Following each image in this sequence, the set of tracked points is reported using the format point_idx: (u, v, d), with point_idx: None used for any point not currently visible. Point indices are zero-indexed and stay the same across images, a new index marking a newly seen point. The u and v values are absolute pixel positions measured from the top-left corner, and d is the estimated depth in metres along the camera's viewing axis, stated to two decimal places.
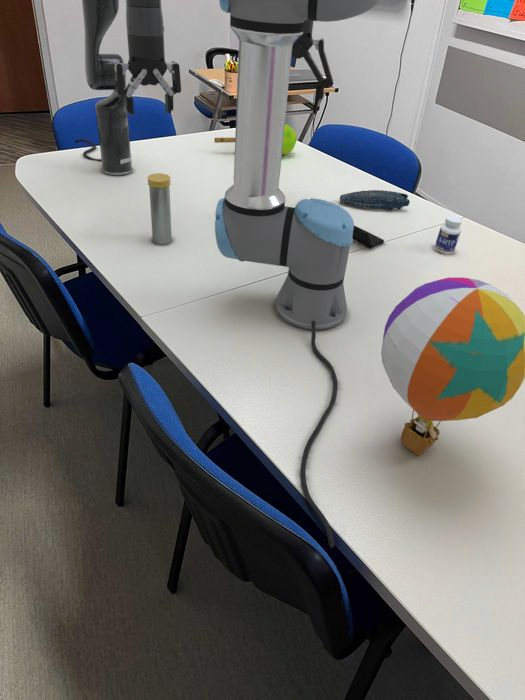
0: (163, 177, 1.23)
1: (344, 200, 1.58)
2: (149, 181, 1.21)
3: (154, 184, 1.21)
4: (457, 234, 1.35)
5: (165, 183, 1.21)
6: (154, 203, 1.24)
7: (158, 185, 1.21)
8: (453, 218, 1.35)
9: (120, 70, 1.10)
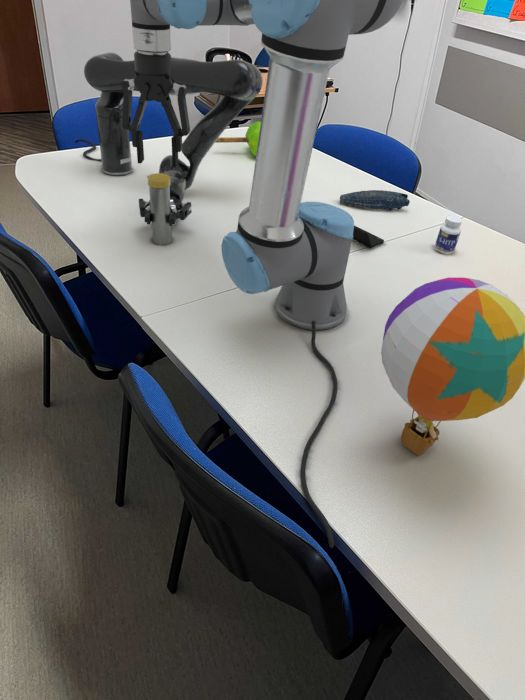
0: (163, 177, 1.23)
1: (344, 200, 1.58)
2: (149, 181, 1.21)
3: (154, 184, 1.21)
4: (457, 234, 1.35)
5: (165, 183, 1.21)
6: (154, 203, 1.24)
7: (158, 185, 1.21)
8: (453, 218, 1.35)
9: None
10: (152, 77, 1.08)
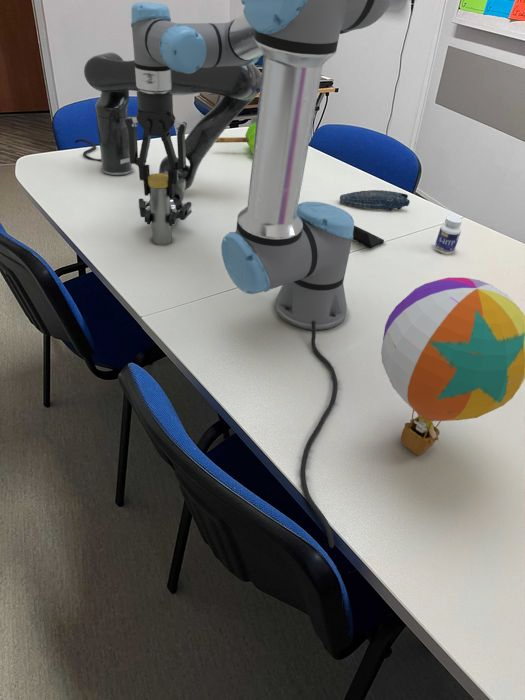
0: (163, 177, 1.23)
1: (344, 200, 1.58)
2: (149, 181, 1.21)
3: (154, 184, 1.21)
4: (457, 234, 1.35)
5: (165, 183, 1.21)
6: (154, 203, 1.24)
7: (158, 185, 1.21)
8: (453, 218, 1.35)
9: None
10: (154, 114, 1.13)
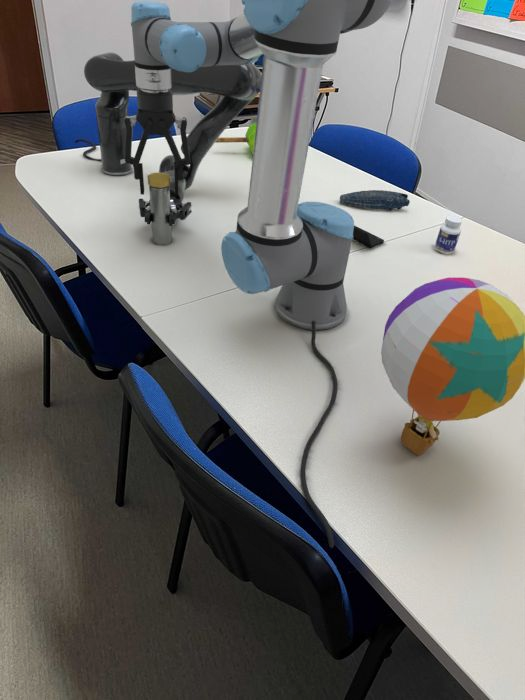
0: (159, 174, 1.23)
1: (344, 200, 1.58)
2: (164, 182, 1.21)
3: (169, 182, 1.22)
4: (457, 234, 1.35)
5: None
6: (154, 203, 1.24)
7: None
8: (453, 218, 1.35)
9: None
10: (155, 113, 1.13)
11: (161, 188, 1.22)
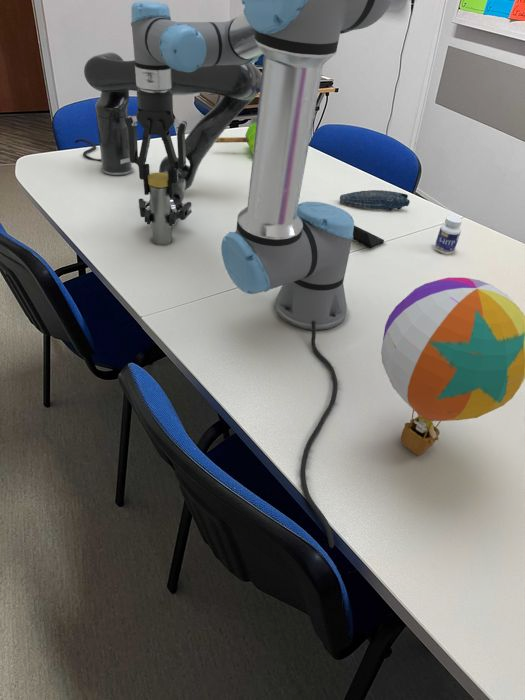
0: (159, 174, 1.23)
1: (344, 200, 1.58)
2: (164, 182, 1.21)
3: None
4: (457, 234, 1.35)
5: None
6: (154, 203, 1.24)
7: None
8: (453, 218, 1.35)
9: None
10: (154, 113, 1.13)
11: (161, 188, 1.22)
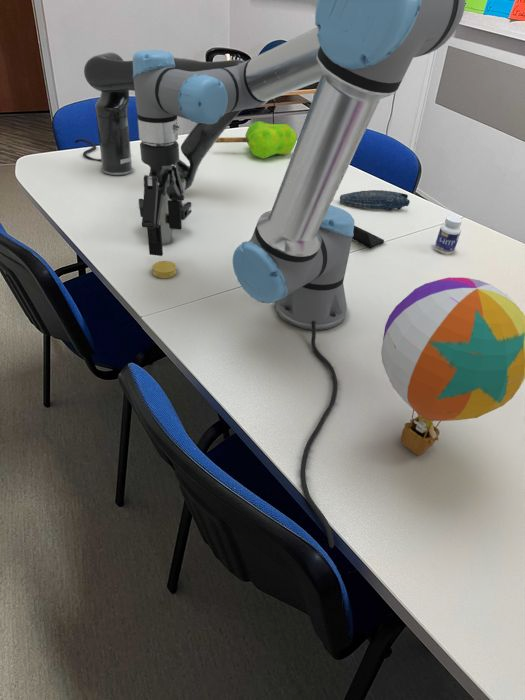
0: (159, 266, 1.20)
1: (344, 200, 1.58)
2: None
3: None
4: (457, 234, 1.35)
5: None
6: None
7: None
8: (453, 218, 1.35)
9: None
10: None
11: None
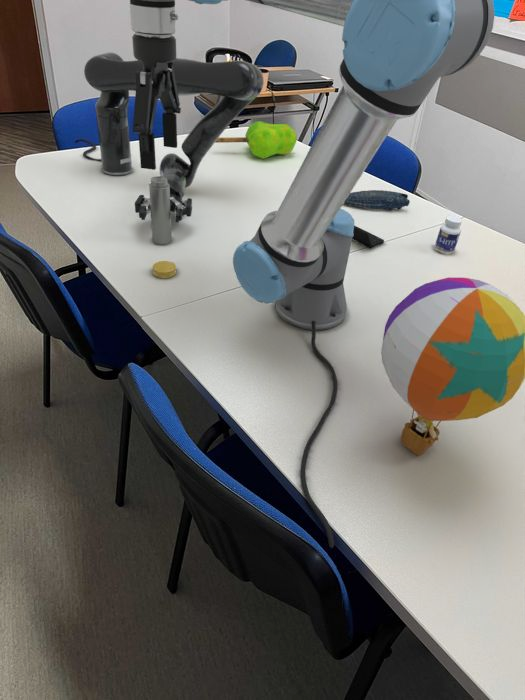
0: (159, 266, 1.20)
1: None
2: None
3: None
4: (457, 234, 1.35)
5: None
6: (154, 203, 1.24)
7: None
8: (453, 218, 1.35)
9: None
10: (161, 64, 0.93)
11: (161, 188, 1.22)
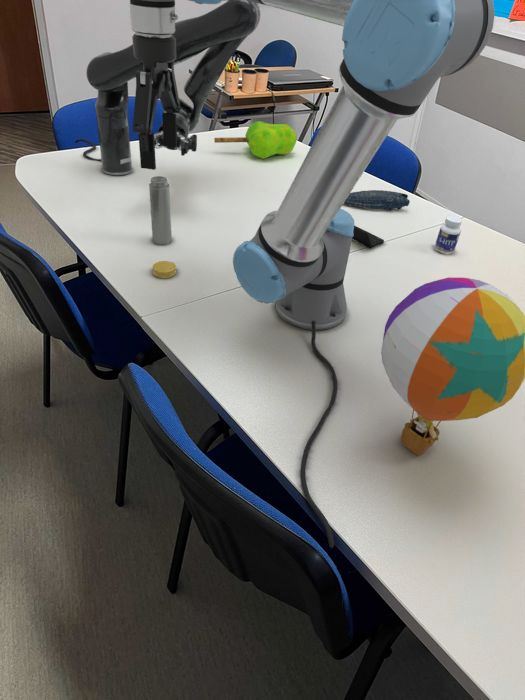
0: (159, 266, 1.20)
1: None
2: None
3: None
4: (457, 234, 1.35)
5: None
6: (154, 203, 1.24)
7: None
8: (453, 218, 1.35)
9: None
10: (161, 64, 0.93)
11: (161, 188, 1.22)
